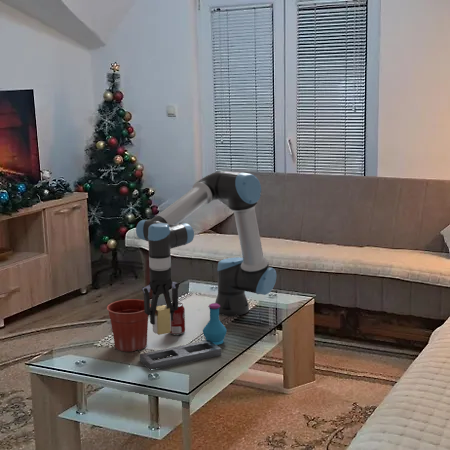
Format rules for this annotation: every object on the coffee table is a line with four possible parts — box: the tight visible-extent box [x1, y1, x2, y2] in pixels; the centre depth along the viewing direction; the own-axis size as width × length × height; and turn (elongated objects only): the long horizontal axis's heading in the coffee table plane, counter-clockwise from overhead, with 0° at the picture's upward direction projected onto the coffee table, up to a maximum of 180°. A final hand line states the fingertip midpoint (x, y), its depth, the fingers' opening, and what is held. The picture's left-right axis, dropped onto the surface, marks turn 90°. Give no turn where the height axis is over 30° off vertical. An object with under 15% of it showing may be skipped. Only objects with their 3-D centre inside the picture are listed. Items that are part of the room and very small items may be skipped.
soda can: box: [169, 301, 186, 336], centre depth 281 cm, size 7×7×12 cm
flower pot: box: [106, 298, 151, 353], centre depth 267 cm, size 16×16×16 cm
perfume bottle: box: [202, 302, 228, 346], centre depth 271 cm, size 9×9×15 cm
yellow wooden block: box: [155, 304, 170, 336], centre depth 250 cm, size 4×4×9 cm
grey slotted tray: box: [139, 339, 222, 371], centre depth 257 cm, size 28×10×2 cm, turn 118°
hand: (162, 331), depth 251 cm, fingers closed on yellow wooden block, 4 cm apart
